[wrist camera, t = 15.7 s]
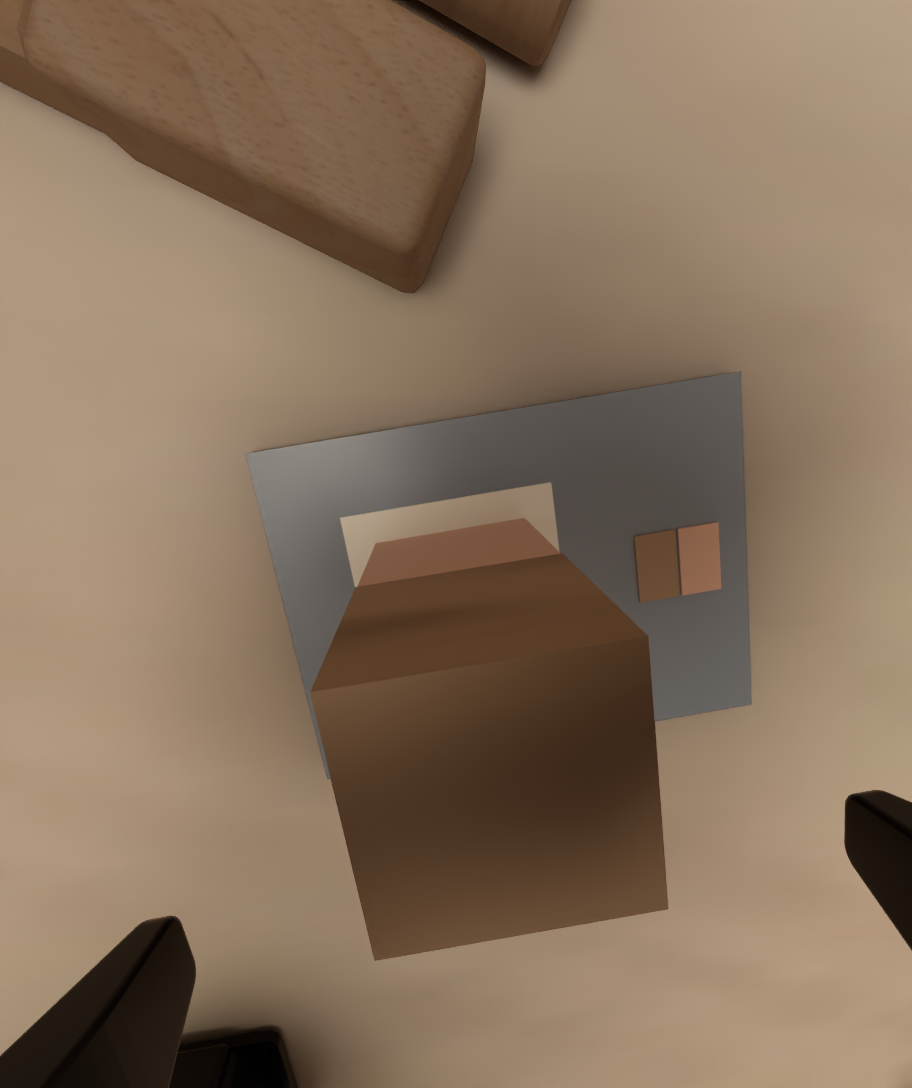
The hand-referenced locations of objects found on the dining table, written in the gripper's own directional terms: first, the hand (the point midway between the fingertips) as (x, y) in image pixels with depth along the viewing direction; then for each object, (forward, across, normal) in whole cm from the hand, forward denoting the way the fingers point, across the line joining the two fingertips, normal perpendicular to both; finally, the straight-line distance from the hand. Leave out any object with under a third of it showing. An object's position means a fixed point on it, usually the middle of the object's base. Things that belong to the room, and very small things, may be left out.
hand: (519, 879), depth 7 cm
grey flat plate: (+12, -2, 0) cm, 12 cm away
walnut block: (+6, 0, 0) cm, 6 cm away
